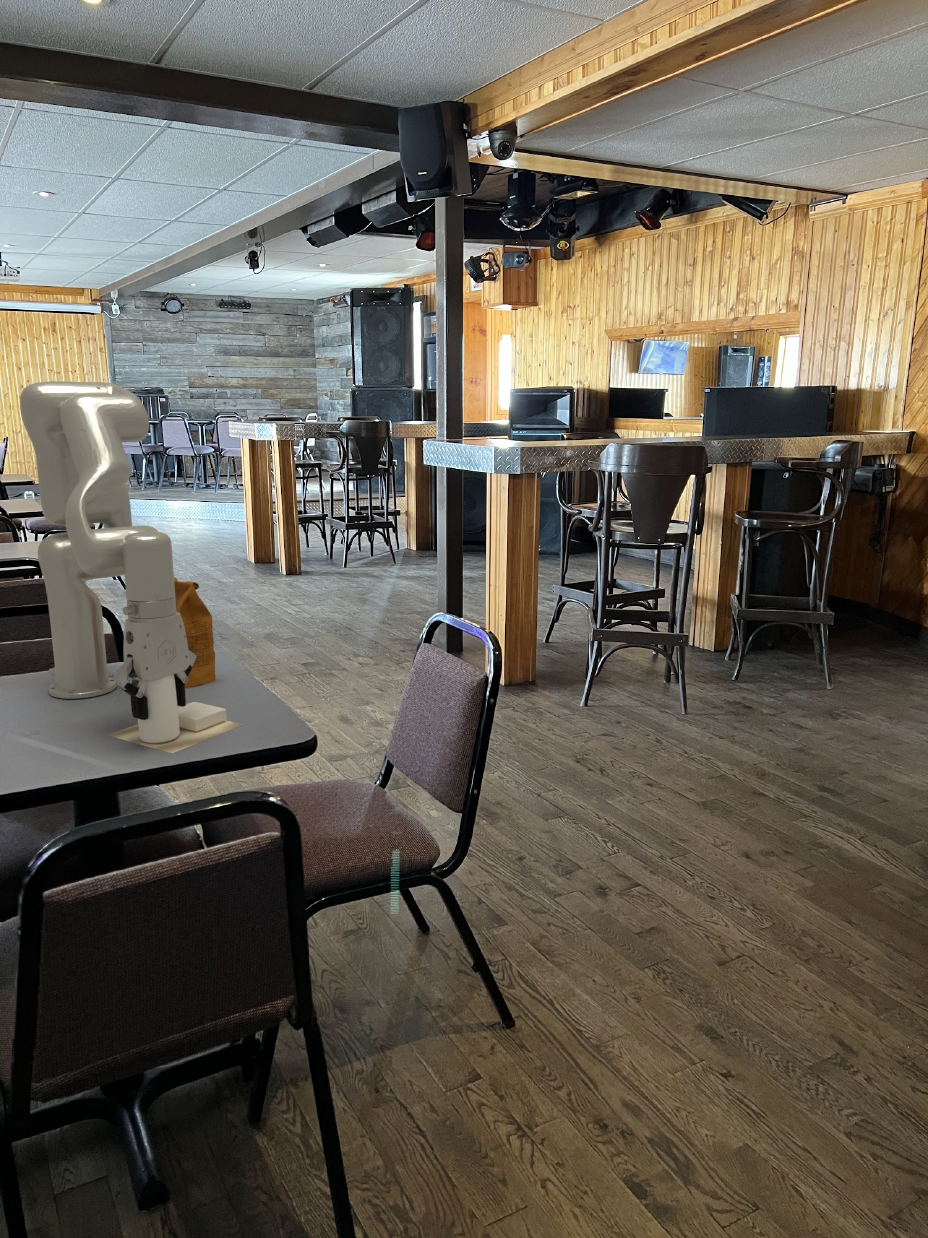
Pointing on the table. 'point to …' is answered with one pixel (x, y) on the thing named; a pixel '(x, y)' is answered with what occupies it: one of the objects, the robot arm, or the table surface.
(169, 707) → the can
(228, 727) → the cloth
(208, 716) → the tile
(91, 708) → the table surface
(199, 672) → the coffee package
